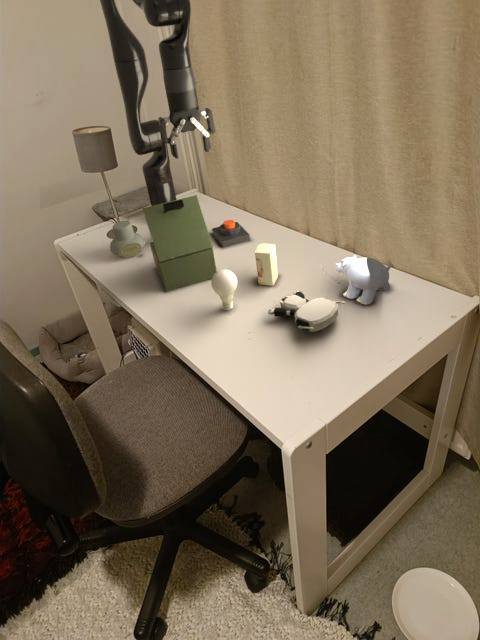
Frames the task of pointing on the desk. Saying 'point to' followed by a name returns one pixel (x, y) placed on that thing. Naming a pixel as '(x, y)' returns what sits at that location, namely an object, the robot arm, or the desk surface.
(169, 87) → the robot arm
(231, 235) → the control block
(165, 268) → the green box
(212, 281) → the lightbulb
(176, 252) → the green handled lid
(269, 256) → the cream cardboard box
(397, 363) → the desk surface
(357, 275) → the white animal-shaped figure
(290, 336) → the desk surface
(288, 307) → the robot toy
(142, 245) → the air freshener
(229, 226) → the release button
